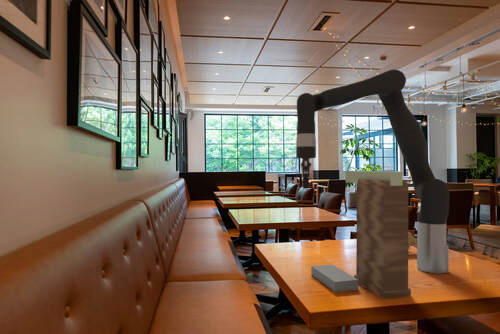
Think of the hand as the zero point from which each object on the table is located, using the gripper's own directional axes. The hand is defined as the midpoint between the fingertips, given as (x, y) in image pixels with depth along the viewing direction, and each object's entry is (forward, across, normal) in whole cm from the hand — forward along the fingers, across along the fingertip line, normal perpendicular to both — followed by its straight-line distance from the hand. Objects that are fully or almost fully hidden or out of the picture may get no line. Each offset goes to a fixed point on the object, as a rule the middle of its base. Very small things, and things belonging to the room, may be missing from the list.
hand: (306, 187), depth 126 cm
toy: (+30, +24, -44) cm, 58 cm away
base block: (+29, -19, -9) cm, 36 cm away
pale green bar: (-3, -17, -21) cm, 27 cm away
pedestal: (+29, -22, -23) cm, 43 cm away
